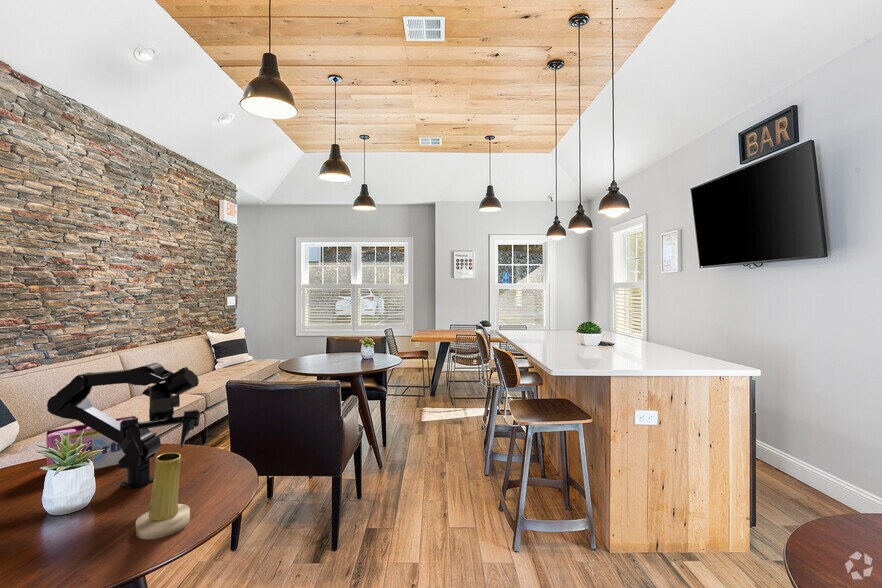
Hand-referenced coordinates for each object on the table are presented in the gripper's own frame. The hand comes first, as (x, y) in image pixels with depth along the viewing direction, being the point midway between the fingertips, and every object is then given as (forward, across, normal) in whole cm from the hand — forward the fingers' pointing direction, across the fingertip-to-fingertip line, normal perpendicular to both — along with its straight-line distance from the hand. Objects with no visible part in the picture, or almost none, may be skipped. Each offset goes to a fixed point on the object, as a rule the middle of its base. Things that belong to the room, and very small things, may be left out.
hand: (162, 450), depth 114 cm
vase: (+19, 0, -3) cm, 19 cm away
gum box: (-18, -18, +38) cm, 46 cm away
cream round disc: (+21, 0, -1) cm, 21 cm away
